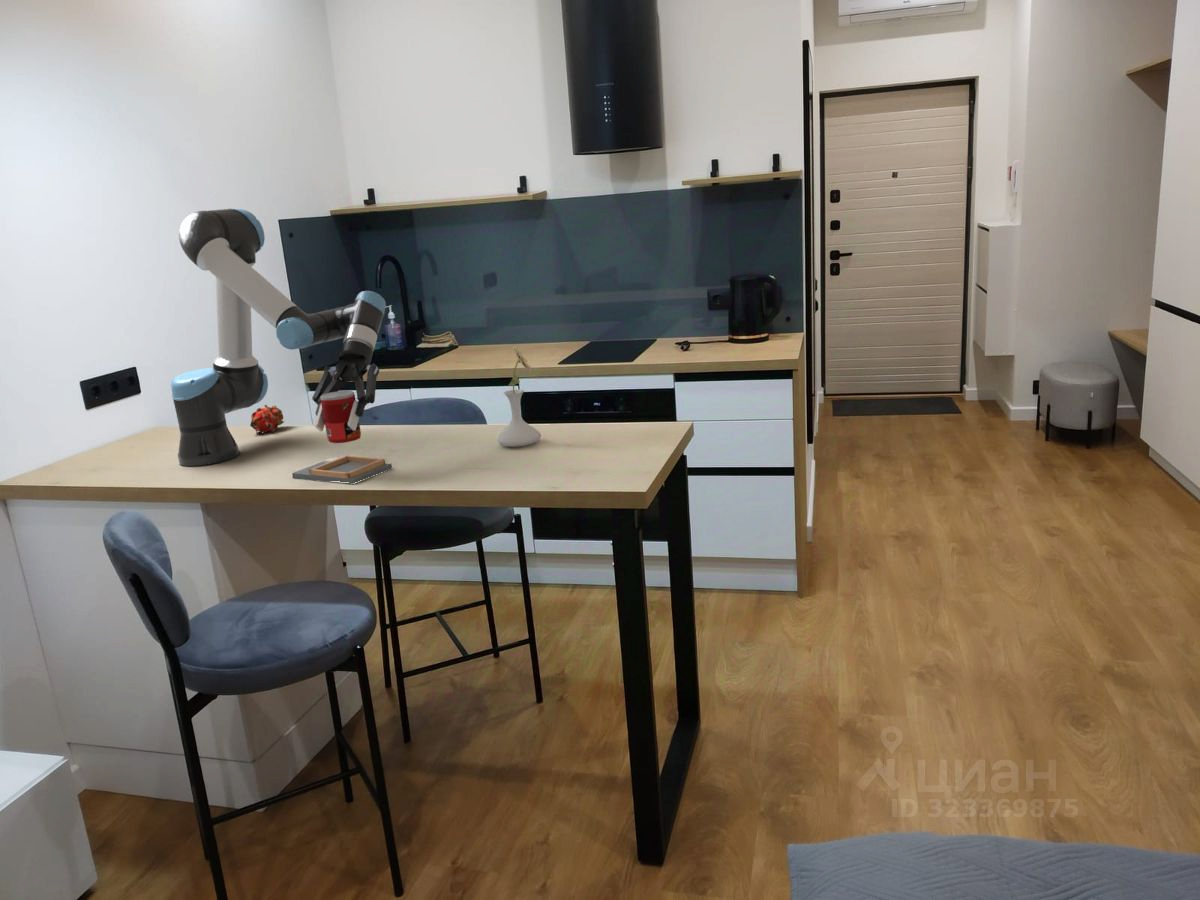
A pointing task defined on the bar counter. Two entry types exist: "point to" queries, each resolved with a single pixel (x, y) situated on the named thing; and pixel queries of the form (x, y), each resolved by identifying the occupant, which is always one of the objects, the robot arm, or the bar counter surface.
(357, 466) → the plate
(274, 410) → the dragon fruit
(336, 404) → the canned food
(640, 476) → the bar counter surface
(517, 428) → the flower in vase
